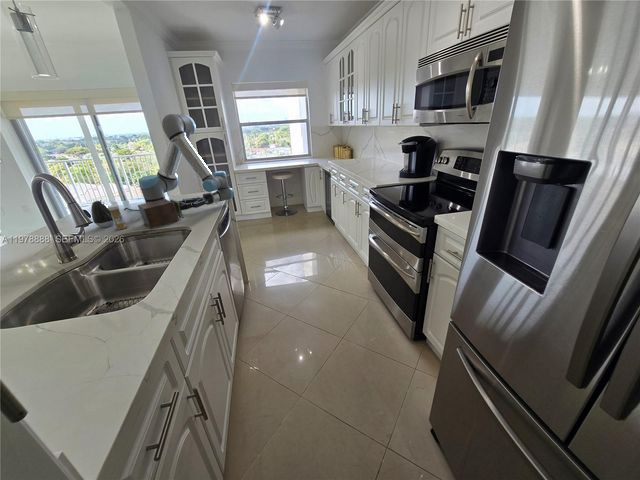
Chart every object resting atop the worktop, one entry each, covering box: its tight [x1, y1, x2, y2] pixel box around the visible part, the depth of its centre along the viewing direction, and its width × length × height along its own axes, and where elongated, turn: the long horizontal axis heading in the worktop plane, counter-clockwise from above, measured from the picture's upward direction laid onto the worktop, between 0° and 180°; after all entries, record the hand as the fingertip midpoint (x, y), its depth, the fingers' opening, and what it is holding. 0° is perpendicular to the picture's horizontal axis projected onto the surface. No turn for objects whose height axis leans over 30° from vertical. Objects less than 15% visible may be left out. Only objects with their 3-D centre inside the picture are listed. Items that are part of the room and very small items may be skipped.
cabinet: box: [137, 198, 179, 229], centre depth 149 cm, size 15×13×12 cm
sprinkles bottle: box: [107, 204, 127, 231], centre depth 143 cm, size 5×5×13 cm
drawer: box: [169, 198, 186, 220], centre depth 153 cm, size 18×11×10 cm, turn 137°
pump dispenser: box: [90, 199, 115, 228], centre depth 148 cm, size 10×10×15 cm
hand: (176, 206), depth 156 cm, fingers closed on drawer, 11 cm apart
